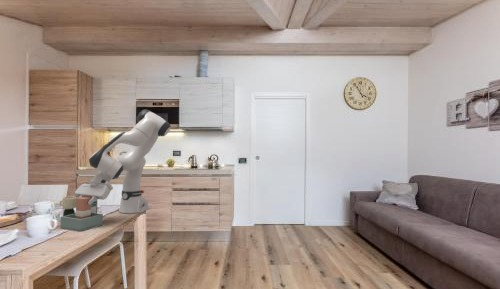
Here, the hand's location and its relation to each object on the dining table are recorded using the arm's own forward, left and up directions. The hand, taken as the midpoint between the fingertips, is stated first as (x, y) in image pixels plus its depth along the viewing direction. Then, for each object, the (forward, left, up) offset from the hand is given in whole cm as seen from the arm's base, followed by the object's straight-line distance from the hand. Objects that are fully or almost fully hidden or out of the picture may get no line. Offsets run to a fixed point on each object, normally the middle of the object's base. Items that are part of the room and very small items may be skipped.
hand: (83, 203), depth 155 cm
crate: (0, 0, -12) cm, 12 cm away
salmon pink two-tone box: (0, 0, -9) cm, 9 cm away
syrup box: (-14, -10, -13) cm, 22 cm away
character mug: (-8, -19, -13) cm, 25 cm away
